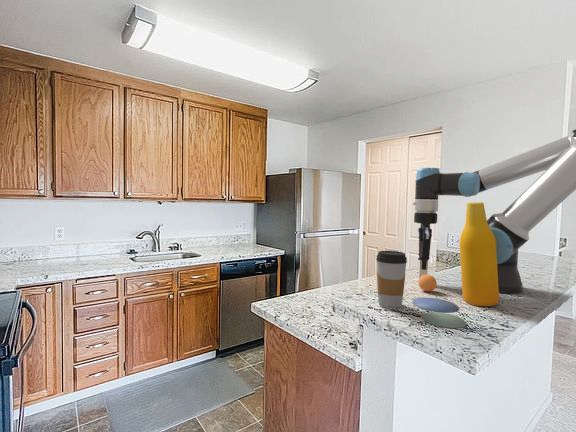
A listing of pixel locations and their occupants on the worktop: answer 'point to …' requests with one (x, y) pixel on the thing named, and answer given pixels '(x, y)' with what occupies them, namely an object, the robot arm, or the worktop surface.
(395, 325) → the worktop surface
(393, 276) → the coffee cup
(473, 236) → the beer bottle
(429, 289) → the ball
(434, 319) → the disc
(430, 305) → the disc
